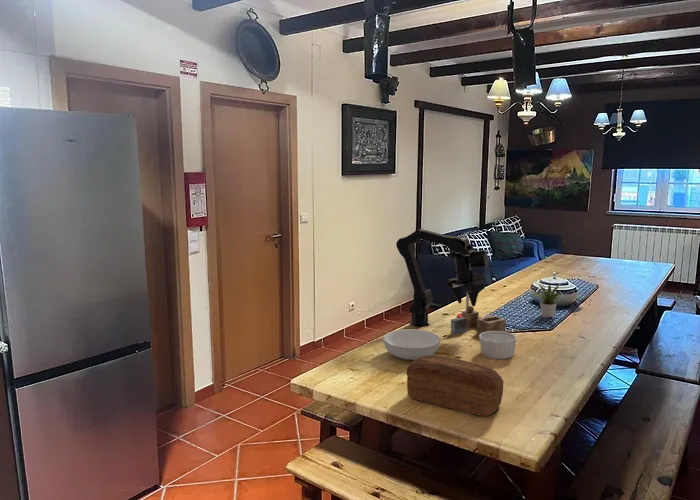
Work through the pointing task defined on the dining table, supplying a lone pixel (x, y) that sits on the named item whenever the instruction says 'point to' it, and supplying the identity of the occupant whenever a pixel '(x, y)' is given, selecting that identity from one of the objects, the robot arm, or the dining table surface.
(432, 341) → the serving bowl
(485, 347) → the ramekin
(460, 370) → the bread
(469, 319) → the wooden hollow frame
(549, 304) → the house plant
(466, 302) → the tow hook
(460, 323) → the tall grey upright block
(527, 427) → the dining table surface
